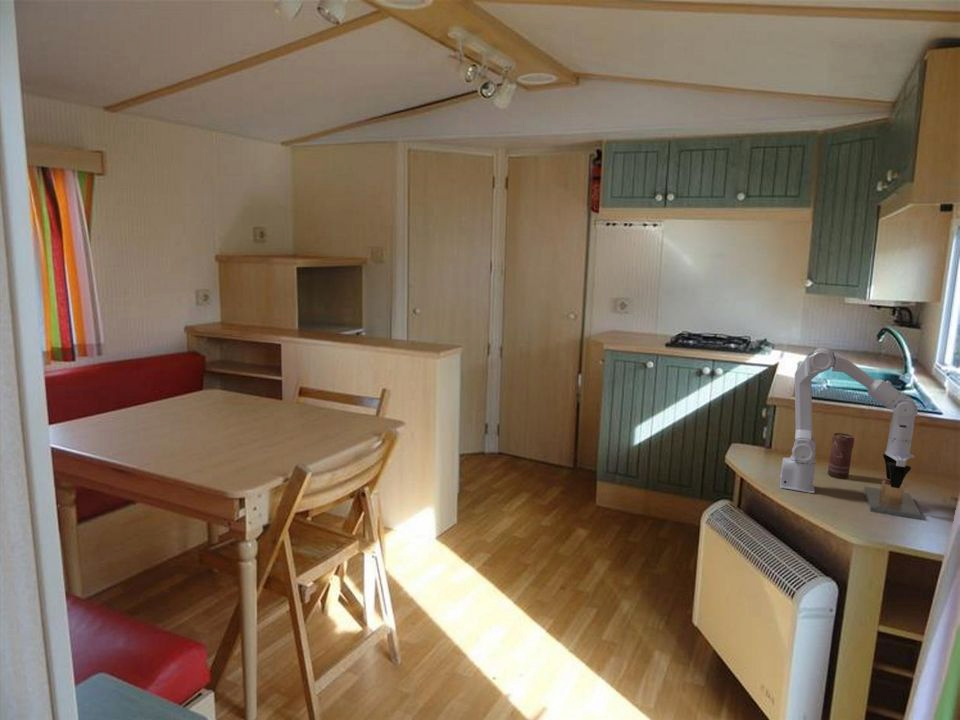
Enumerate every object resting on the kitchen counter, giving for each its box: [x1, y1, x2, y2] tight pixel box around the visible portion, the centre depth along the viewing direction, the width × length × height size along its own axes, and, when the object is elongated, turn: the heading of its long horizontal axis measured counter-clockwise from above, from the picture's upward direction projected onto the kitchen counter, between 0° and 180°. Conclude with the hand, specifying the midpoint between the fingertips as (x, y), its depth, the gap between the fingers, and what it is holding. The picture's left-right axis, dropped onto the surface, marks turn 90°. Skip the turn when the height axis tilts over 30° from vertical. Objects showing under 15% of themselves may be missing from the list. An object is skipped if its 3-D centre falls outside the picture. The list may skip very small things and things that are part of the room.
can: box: [827, 432, 855, 480], centre depth 213 cm, size 6×6×14 cm
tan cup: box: [880, 479, 906, 503], centre depth 190 cm, size 6×6×5 cm
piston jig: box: [862, 483, 922, 521], centre depth 190 cm, size 12×18×6 cm, turn 155°
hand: (893, 483), depth 190 cm, fingers open, 7 cm apart
